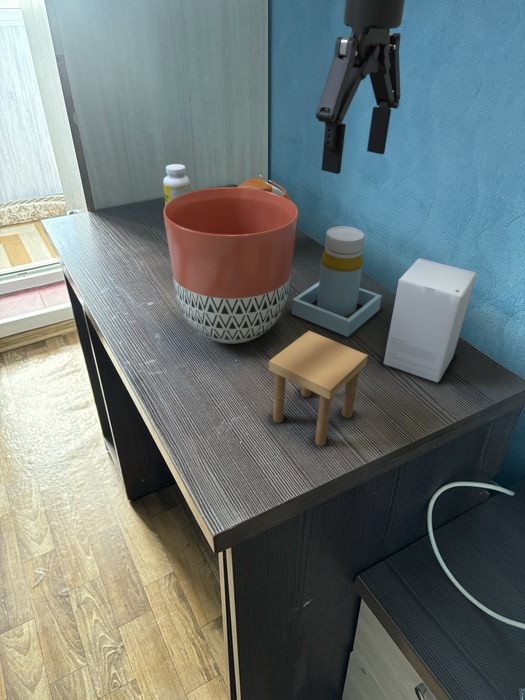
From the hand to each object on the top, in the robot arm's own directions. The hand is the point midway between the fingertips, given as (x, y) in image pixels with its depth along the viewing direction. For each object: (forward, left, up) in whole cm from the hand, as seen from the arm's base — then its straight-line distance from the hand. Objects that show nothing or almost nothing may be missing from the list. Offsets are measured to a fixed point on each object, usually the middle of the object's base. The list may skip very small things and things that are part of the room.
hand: (354, 161), depth 78 cm
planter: (+10, +17, -27) cm, 33 cm away
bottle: (0, 0, -27) cm, 27 cm away
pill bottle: (+56, -16, -27) cm, 64 cm away
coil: (+28, -12, -27) cm, 40 cm away
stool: (-12, +26, -27) cm, 39 cm away
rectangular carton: (-18, +4, -27) cm, 32 cm away
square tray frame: (0, 0, -27) cm, 27 cm away
